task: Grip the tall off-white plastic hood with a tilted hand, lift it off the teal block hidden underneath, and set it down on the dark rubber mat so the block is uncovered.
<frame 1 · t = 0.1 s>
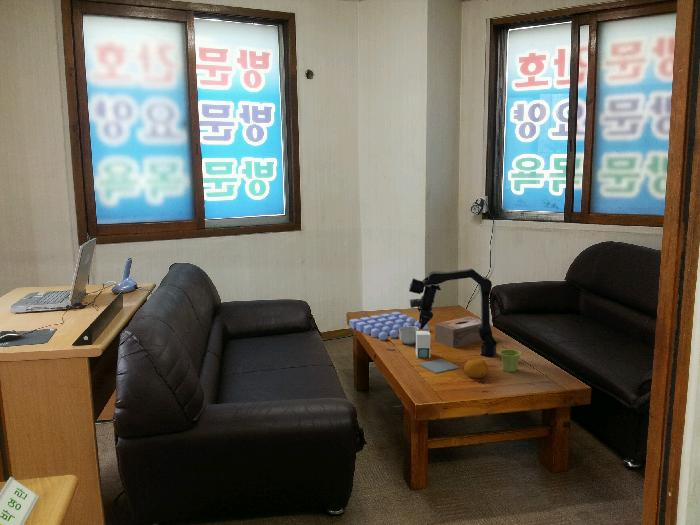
hand: (420, 325, 294), 15 cm above the table, tool pointing down, fingers open, 9 cm apart
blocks: (390, 330, 344), on the table
hood: (422, 355, 296), on the table
mat: (438, 366, 280), on the table
fruit: (475, 376, 267), on the table
tissue box cover: (461, 340, 321), on the table
block: (422, 352, 296), in the hood
plant pot: (509, 370, 274), on the table
teacup: (409, 342, 319), on the table
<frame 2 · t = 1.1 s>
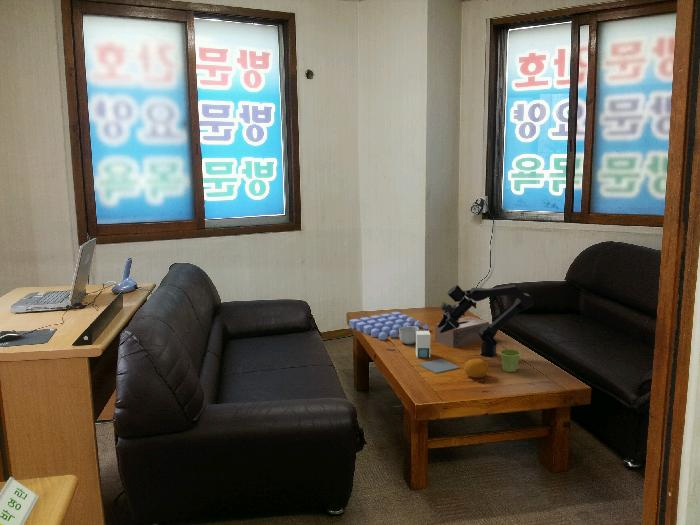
hand: (439, 329, 294), 13 cm above the table, tool tilted 45°, fingers open, 9 cm apart
nothing on the table moved.
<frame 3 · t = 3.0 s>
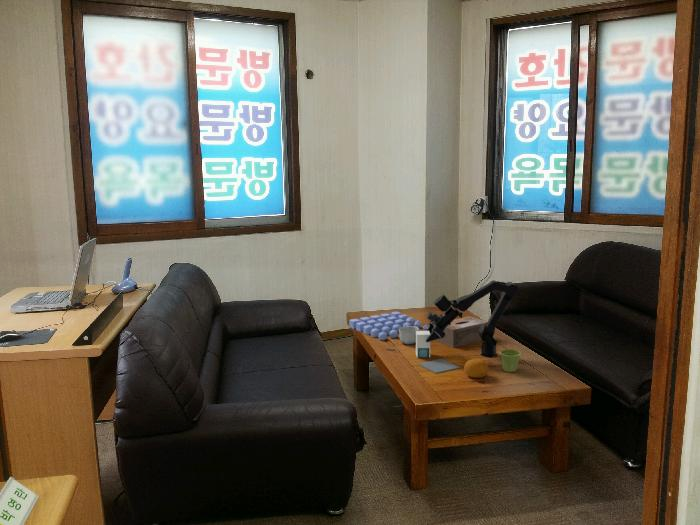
hand: (425, 338, 295), 9 cm above the table, tool tilted 45°, fingers open, 9 cm apart
nothing on the table moved.
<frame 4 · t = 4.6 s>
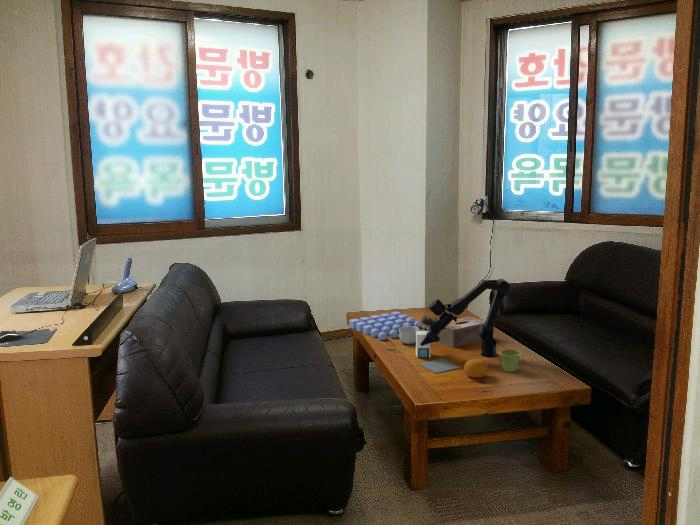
hand: (420, 343, 295), 7 cm above the table, tool tilted 45°, fingers closed on hood, 7 cm apart
hood: (422, 355, 296), on the table, touching gripper
everything else where it was.
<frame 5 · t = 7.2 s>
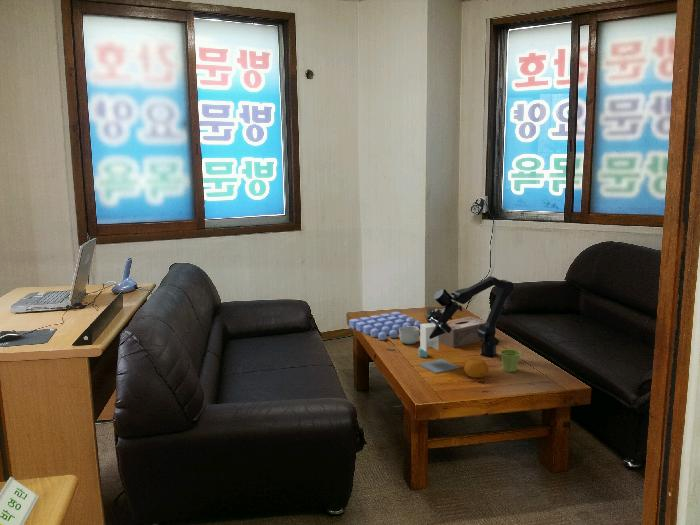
hand: (426, 336, 283), 13 cm above the table, tool tilted 45°, fingers closed on hood, 7 cm apart
hood: (429, 349, 285), point 7 cm above the table, touching gripper
everything else where it was.
when the fingers open (8 cm above the table, at t = 9.8 s): hood drops 1 cm, resting on mat.
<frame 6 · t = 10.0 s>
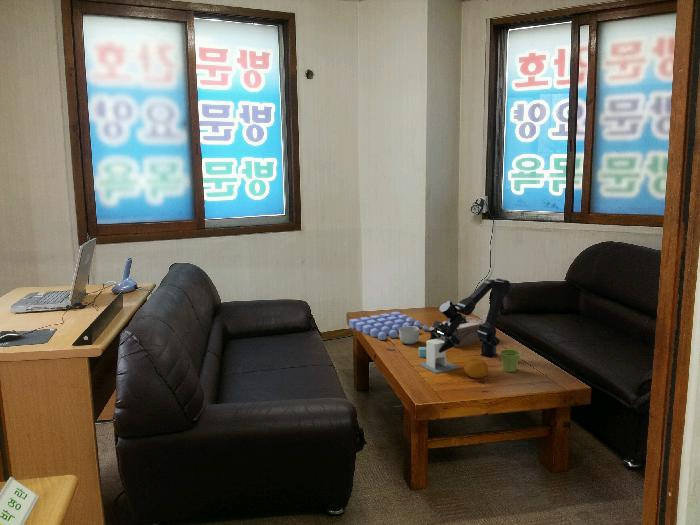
hand: (433, 349, 278), 9 cm above the table, tool tilted 45°, fingers open, 9 cm apart
hood: (436, 365, 280), resting on mat
everything else where it was.
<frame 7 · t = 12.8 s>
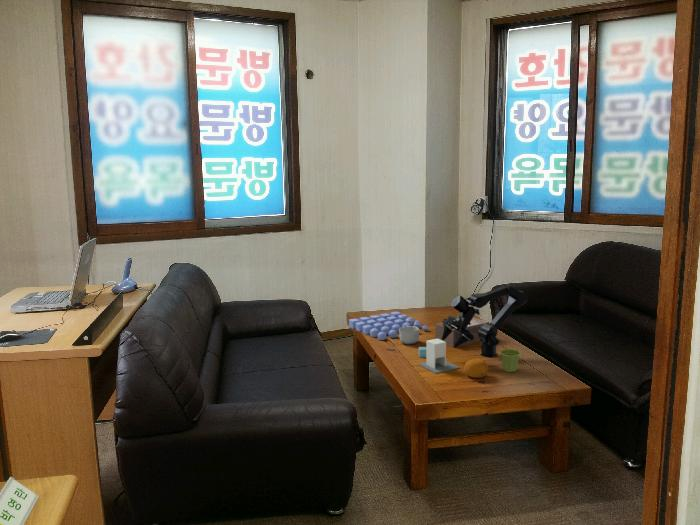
hand: (448, 343, 286), 9 cm above the table, tool tilted 40°, fingers open, 9 cm apart
nothing on the table moved.
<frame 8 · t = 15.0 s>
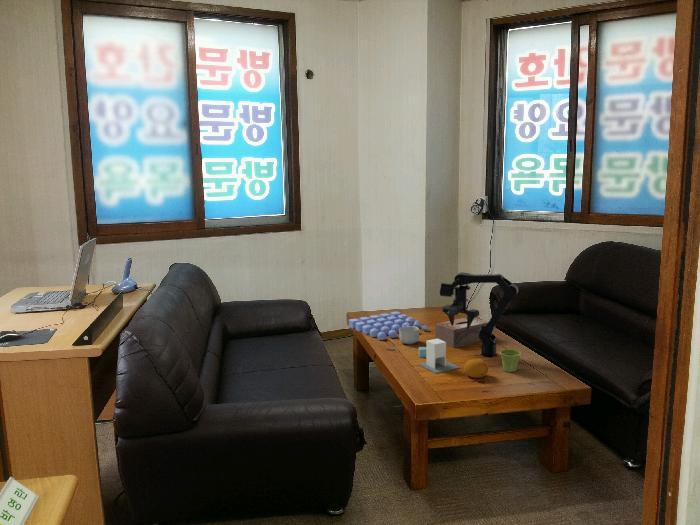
hand: (460, 327, 299), 13 cm above the table, tool pointing down, fingers open, 9 cm apart
nothing on the table moved.
at the end: hood inside the target area on the mat (1.4 cm from its centre), point 0.5 cm above the mat's base; hood tilted 0°; block moved 0.1 cm from its start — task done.
